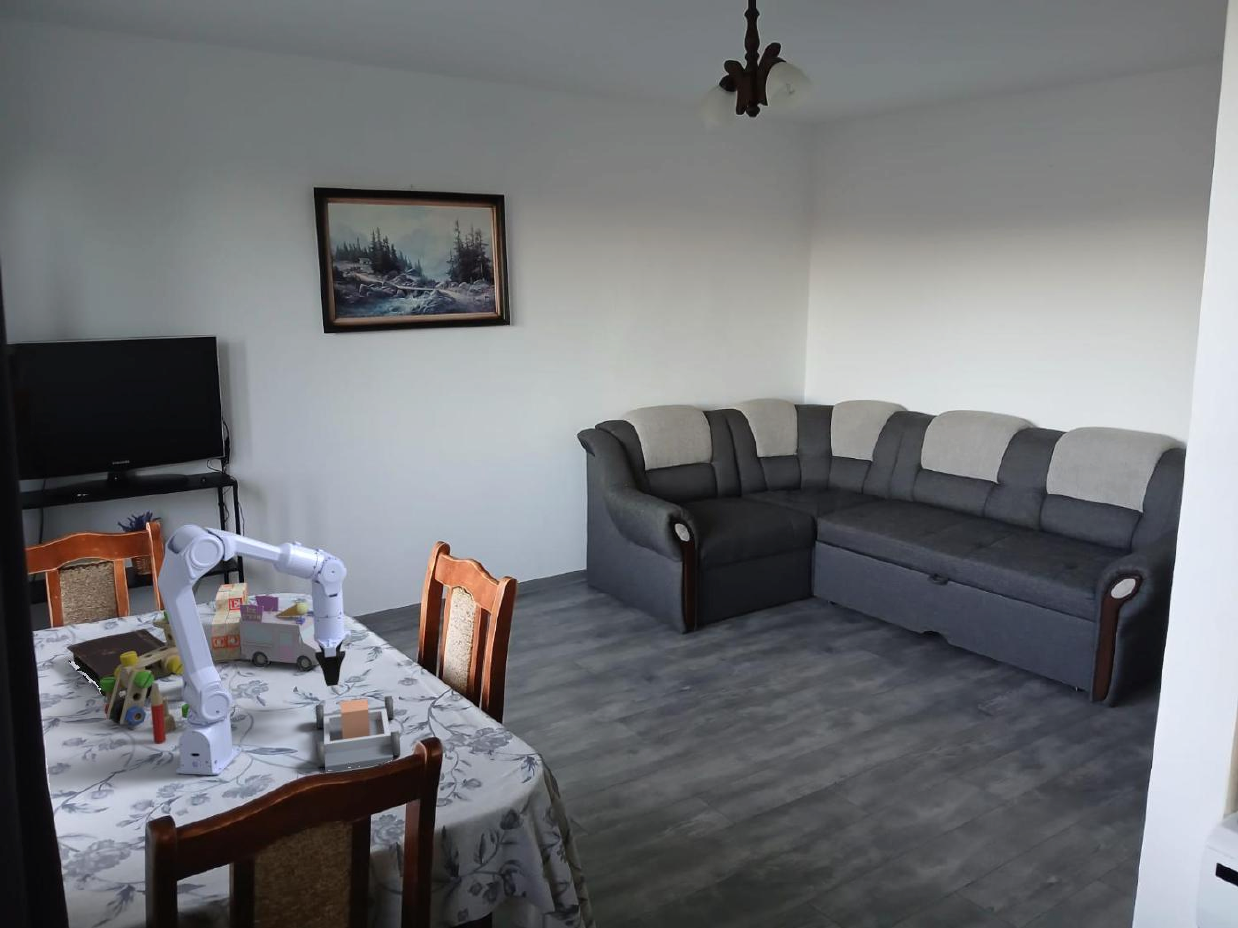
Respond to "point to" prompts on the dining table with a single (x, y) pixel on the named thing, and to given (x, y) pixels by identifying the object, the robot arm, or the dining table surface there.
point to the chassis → (356, 740)
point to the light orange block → (355, 718)
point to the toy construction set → (144, 686)
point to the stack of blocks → (228, 621)
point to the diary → (113, 654)
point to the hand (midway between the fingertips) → (332, 677)
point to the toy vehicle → (277, 633)
